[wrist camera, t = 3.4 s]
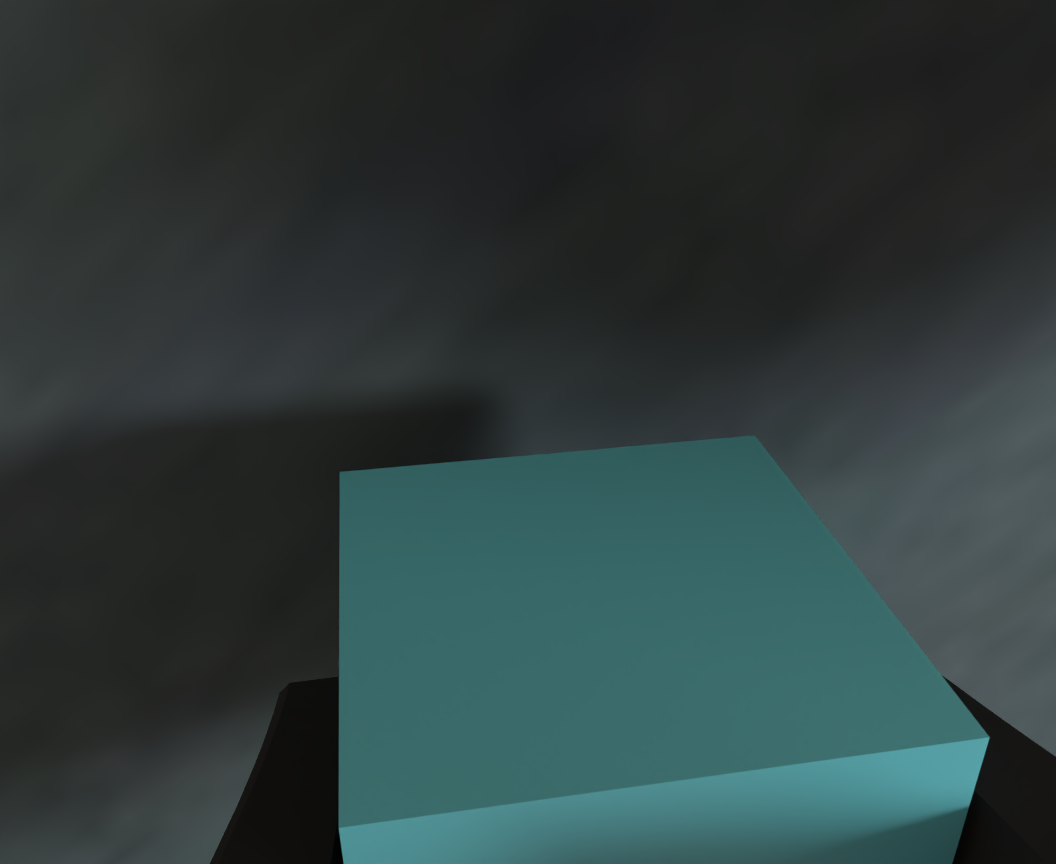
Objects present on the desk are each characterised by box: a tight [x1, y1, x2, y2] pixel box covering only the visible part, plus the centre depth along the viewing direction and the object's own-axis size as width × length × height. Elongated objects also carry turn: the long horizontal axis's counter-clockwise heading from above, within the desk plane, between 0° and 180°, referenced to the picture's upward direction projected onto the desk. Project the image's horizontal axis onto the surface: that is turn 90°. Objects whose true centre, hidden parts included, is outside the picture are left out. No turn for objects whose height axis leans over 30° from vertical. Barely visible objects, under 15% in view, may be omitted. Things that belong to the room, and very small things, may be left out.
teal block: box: [339, 435, 990, 864], centre depth 10 cm, size 4×4×4 cm
